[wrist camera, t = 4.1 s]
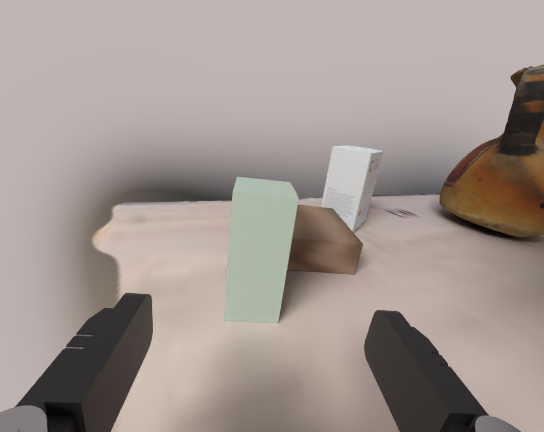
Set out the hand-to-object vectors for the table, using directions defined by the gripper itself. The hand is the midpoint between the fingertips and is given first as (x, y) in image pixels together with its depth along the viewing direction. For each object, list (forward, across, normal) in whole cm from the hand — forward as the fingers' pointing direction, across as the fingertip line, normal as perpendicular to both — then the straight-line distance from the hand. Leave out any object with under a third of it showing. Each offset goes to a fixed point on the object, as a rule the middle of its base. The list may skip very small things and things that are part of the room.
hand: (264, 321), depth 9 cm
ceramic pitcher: (+40, -49, +8) cm, 64 cm away
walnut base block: (+24, -6, +9) cm, 26 cm away
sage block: (+12, 0, +9) cm, 15 cm away
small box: (+35, -16, +9) cm, 40 cm away
